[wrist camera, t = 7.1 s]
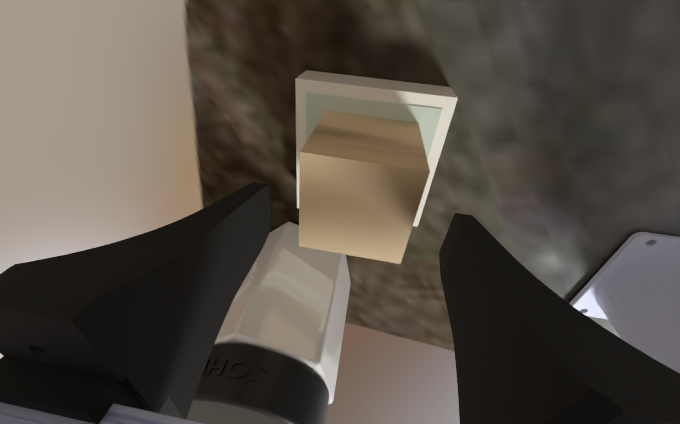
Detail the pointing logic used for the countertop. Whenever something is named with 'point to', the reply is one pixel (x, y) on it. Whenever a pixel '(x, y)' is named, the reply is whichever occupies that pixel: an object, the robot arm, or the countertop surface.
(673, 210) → the countertop surface
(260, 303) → the jar
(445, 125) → the tile base
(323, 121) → the oak block
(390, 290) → the countertop surface
